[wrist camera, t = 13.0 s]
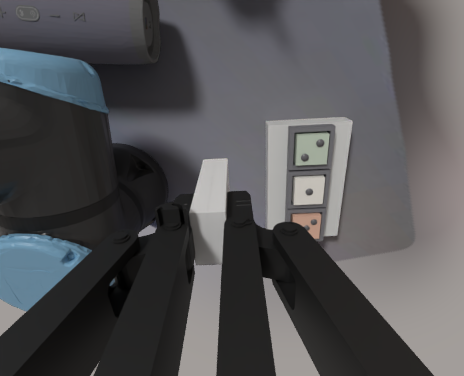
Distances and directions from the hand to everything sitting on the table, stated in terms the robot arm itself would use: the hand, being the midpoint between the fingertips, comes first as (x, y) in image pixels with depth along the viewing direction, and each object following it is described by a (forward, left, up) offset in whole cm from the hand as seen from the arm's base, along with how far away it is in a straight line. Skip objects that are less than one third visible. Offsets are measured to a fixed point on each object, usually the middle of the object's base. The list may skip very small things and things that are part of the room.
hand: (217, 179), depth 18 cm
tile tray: (+12, -12, -26) cm, 31 cm away
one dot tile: (+12, -12, -23) cm, 29 cm away
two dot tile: (+12, -6, -23) cm, 27 cm away
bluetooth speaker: (-19, +12, -27) cm, 35 cm away
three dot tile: (+12, -19, -23) cm, 32 cm away
